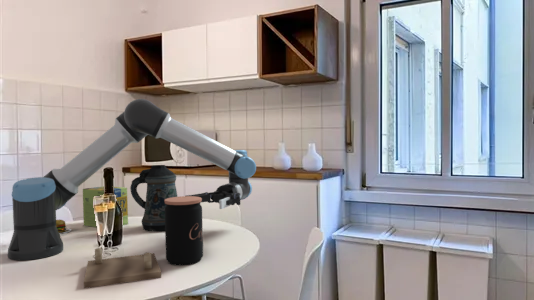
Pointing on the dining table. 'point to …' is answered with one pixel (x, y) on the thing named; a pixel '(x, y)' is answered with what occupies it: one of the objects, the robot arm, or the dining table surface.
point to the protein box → (97, 191)
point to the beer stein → (155, 195)
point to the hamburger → (61, 226)
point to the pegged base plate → (120, 269)
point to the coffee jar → (183, 230)
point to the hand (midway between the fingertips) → (200, 204)
